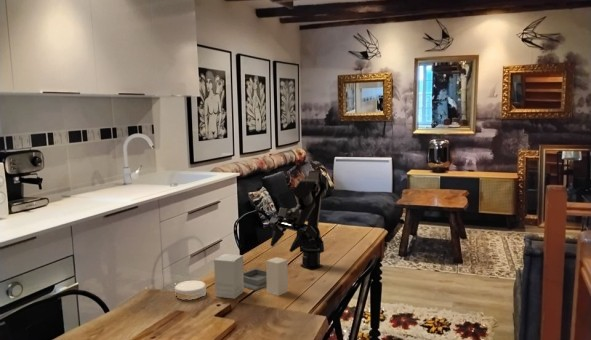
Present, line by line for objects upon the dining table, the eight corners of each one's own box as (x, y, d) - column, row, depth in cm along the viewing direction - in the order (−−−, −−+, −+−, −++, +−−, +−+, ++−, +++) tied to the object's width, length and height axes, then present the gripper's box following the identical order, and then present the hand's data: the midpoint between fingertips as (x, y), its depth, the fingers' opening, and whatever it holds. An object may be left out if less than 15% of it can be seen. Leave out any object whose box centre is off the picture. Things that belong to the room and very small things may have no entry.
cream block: (276, 288, 162) (276, 257, 161) (287, 291, 159) (287, 259, 158) (266, 292, 159) (266, 260, 157) (277, 296, 155) (277, 263, 154)
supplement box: (244, 291, 159) (244, 255, 158) (234, 299, 152) (234, 261, 151) (224, 288, 162) (224, 253, 160) (214, 296, 155) (213, 259, 153)
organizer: (257, 272, 178) (257, 265, 178) (281, 279, 171) (281, 272, 171) (230, 282, 168) (230, 275, 167) (255, 290, 160) (254, 283, 160)
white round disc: (191, 303, 150) (190, 293, 149) (168, 297, 155) (168, 286, 155) (212, 293, 158) (212, 283, 158) (190, 287, 163) (190, 278, 163)
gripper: (272, 194, 170) (249, 231, 164) (311, 202, 157) (288, 241, 151) (287, 212, 177) (266, 247, 170) (326, 220, 164) (305, 259, 158)
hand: (280, 248), depth 162 cm, fingers open, 9 cm apart
